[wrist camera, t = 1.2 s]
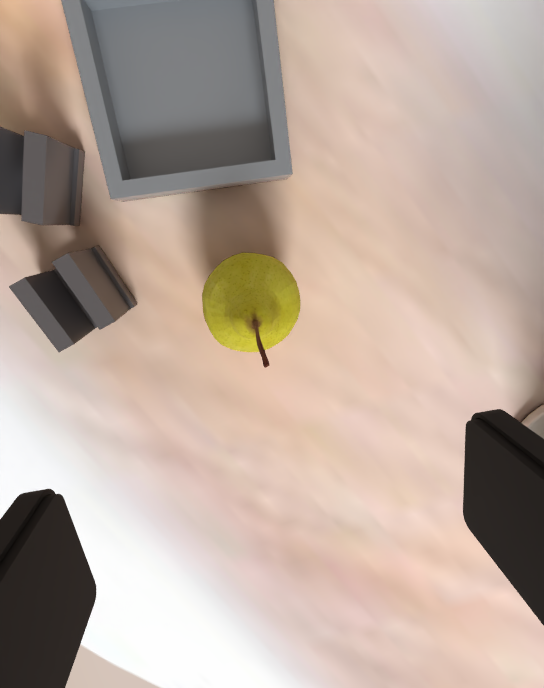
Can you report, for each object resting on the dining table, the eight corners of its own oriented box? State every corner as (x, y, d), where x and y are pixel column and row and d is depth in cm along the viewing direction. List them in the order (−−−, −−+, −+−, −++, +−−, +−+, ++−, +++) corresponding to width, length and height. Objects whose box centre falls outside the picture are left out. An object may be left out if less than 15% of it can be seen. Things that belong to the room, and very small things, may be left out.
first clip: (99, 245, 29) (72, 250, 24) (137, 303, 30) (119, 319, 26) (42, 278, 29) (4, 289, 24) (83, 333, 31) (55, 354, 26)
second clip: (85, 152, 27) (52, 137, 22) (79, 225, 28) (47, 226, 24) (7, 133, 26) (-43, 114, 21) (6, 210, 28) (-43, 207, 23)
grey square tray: (264, -23, 25) (267, -54, 22) (287, 178, 29) (292, 174, 26) (75, 0, 24) (53, -30, 22) (123, 201, 28) (110, 199, 25)
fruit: (198, 255, 30) (175, 276, 18) (286, 243, 30) (317, 255, 19) (214, 340, 32) (202, 407, 20) (296, 328, 32) (330, 386, 21)
